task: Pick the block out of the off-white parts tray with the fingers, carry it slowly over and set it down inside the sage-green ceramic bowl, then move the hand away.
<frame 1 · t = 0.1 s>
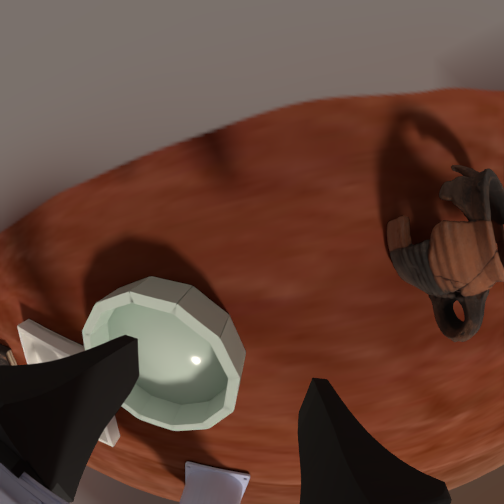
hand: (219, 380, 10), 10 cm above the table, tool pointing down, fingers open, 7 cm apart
pottery mug: (438, 244, 18), on the table
bowl: (168, 350, 22), on the table
hardcover book: (0, 371, 29), on the table
tray: (71, 382, 25), on the table
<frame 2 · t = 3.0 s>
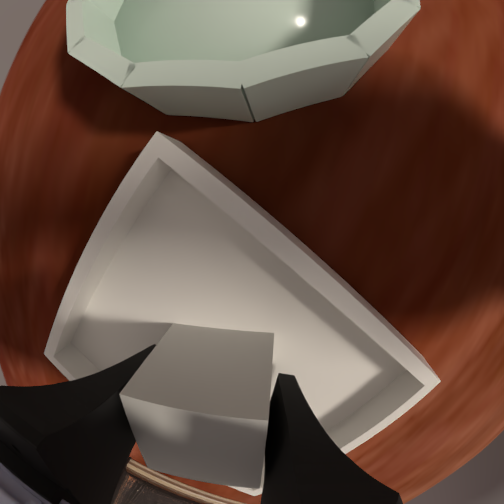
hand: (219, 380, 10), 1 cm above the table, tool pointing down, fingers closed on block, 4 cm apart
block: (222, 369, 11), point 1 cm above the table, touching gripper, tray
tray: (225, 361, 11), on the table
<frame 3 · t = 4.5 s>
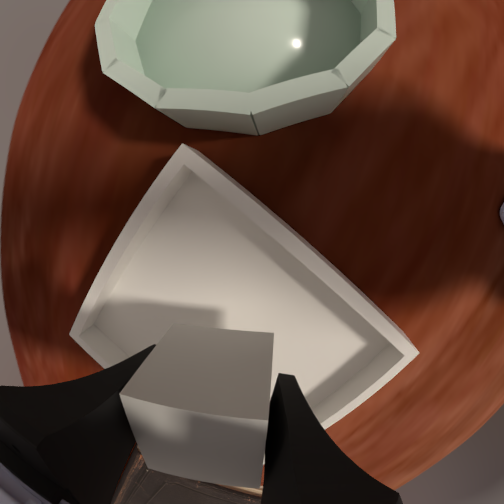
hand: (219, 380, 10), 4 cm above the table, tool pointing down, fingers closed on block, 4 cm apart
block: (222, 369, 11), point 3 cm above the table, touching gripper
bowl: (246, 20, 10), on the table
hardcover book: (189, 500, 20), on the table
tray: (233, 335, 14), on the table
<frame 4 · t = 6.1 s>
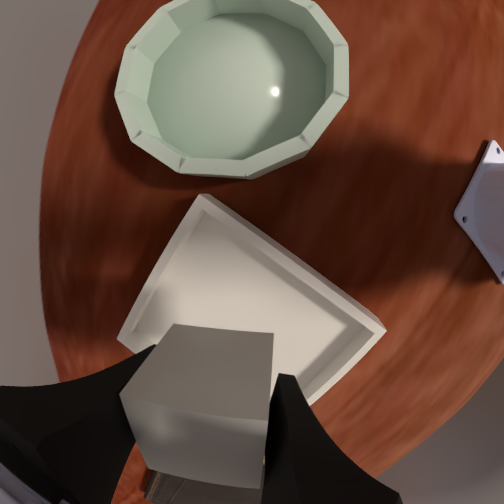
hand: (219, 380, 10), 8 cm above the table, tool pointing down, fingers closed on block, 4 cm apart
block: (222, 369, 11), point 8 cm above the table, touching gripper
bowl: (234, 81, 15), on the table
hardcover book: (216, 484, 25), on the table
tray: (245, 327, 19), on the table
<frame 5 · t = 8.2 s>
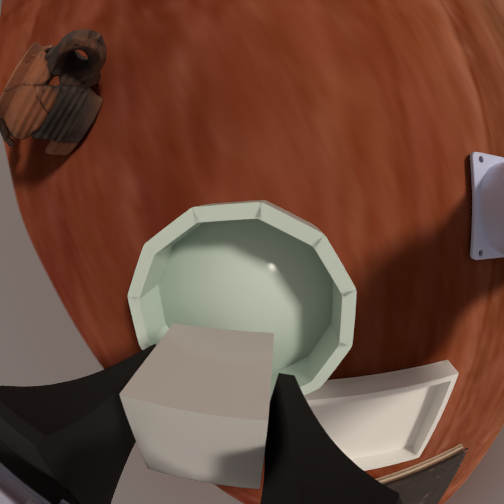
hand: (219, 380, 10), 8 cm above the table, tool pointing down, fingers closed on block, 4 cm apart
pottery mug: (74, 97, 16), on the table
block: (222, 369, 11), point 8 cm above the table, touching gripper
bowl: (244, 301, 18), on the table
hardcover book: (401, 492, 24), on the table
tray: (365, 422, 20), on the table
when the fingers open (4 cm above the table, at t = 9.7 s): block drops 3 cm, resting on bowl.
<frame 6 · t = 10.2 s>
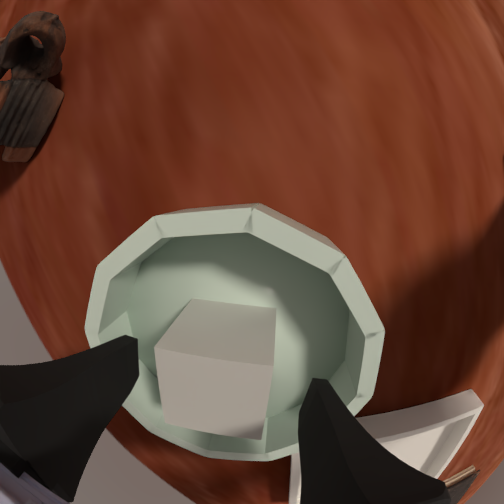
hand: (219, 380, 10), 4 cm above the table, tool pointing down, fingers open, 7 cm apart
pottery mug: (37, 94, 12), on the table
block: (231, 339, 13), point 1 cm above the table, touching bowl
bowl: (234, 334, 14), on the table
tray: (376, 458, 15), on the table
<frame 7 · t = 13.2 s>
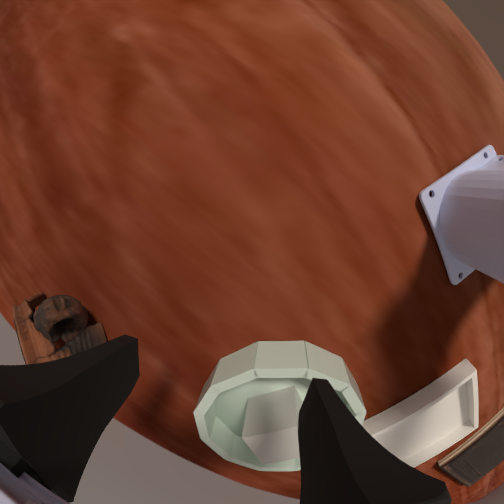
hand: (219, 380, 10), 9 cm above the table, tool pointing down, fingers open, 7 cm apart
pottery mug: (75, 321, 22), on the table
block: (279, 407, 20), point 1 cm above the table, touching bowl
bowl: (280, 402, 21), on the table
hardcover book: (488, 443, 22), on the table
tray: (417, 426, 21), on the table
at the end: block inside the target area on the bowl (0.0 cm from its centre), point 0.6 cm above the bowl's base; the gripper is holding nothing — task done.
